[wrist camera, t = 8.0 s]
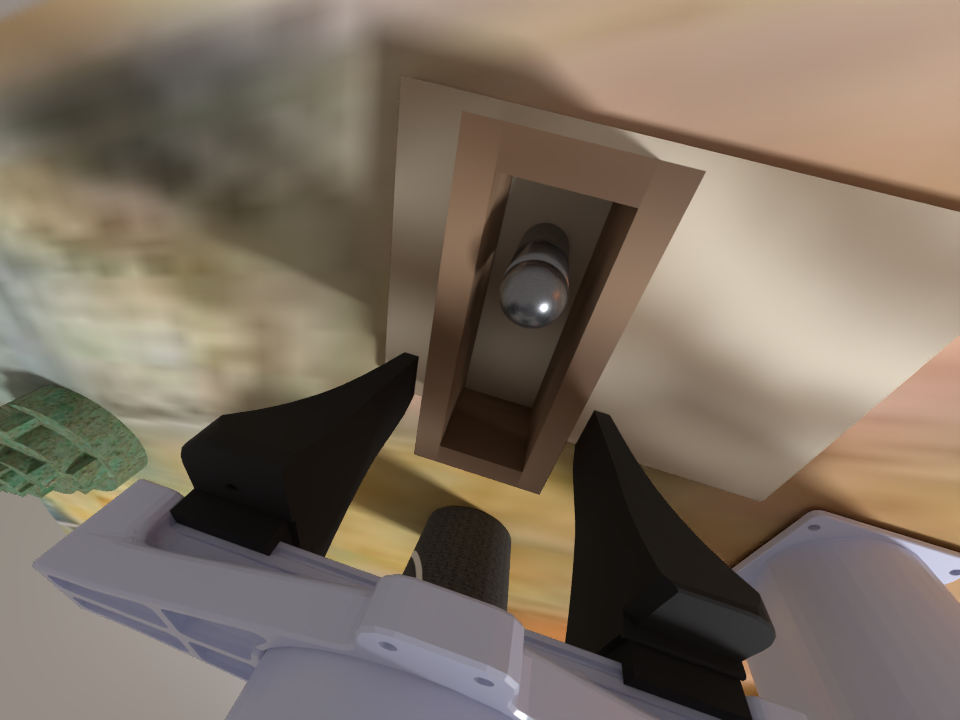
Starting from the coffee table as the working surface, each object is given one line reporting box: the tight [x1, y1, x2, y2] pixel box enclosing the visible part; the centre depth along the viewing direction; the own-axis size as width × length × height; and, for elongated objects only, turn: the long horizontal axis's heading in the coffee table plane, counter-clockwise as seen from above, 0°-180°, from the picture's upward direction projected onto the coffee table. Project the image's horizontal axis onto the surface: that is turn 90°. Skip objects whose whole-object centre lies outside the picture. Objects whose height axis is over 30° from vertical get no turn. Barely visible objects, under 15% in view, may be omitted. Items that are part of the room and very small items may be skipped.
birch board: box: [385, 75, 960, 502], centre depth 14 cm, size 13×20×1 cm, turn 78°
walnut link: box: [414, 111, 706, 495], centre depth 13 cm, size 12×6×4 cm, turn 168°
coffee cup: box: [402, 506, 511, 611], centre depth 20 cm, size 10×10×15 cm
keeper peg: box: [499, 223, 569, 329], centre depth 10 cm, size 2×2×6 cm
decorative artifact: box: [0, 386, 148, 498], centre depth 28 cm, size 10×7×10 cm
